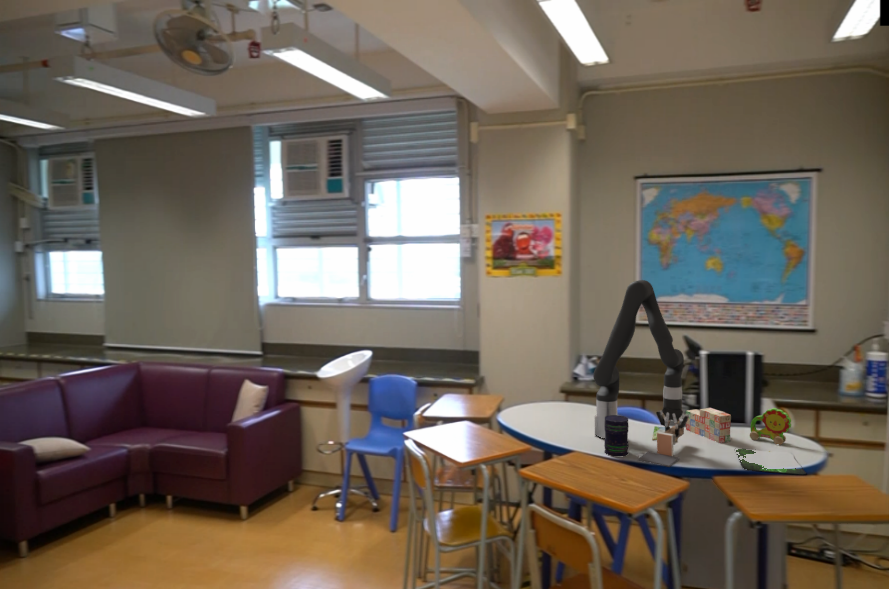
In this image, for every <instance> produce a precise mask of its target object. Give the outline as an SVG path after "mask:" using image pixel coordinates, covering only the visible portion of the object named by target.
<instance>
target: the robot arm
mask: <svg viewBox="0 0 889 589" xmlns="http://www.w3.org/2000/svg"><path fill="white" fill-rule="evenodd" d="M625 290H626V291H625V294H624V298H623V301H622V305H621V308H620V310H619V313H618V315H617V317H616V319H615V322H614V324H613V327H612V329H611V332H610V335H609V337H608V340H607V342H606V345H605V348H604V350H603V354H602V355H601V358H600V359H599V361H598V363H597V365H596V367H595V368H594V372H593V381H594V382H595V384H596V385H597V386H599V389H598V391H597V392H596V398H595V399H596V415H594V436H595V435H597V436H599V437H602V438H605V429H604V428H605V427H604V423H605V417H606V416H609V415H618V396H619V392H620V372H619V369H618V367H617V366H616V365H617V364H618V362H619V360H620V359H621V357H622V356H623V355H624V353H625V352H626V351H627V349H628V348H629V346H630V344H631V342H632V339H633V337H634V334H635V331H636V324H637V323H636V321H637V315H638V312H639V309H640V307H641V306H642V307H643V308H644V312H645V313H646V318H647V323H648V327H649V328H648V329H649V331H650V333H651V336H652V337H653V339H654V342H655V343H656V345H657V350H658V354H659V357H660V359H661V360H660V361H661V362H662V364H663V365H664V366H665V367H666V371H665V373H664V375H663V389H662V390H663V391H662V393H663V394H662V398H663V400H662V401H663V403H662V409H661V410H657V411H656V416H657V419H658V421H659V423H660V425H661V426H662V427H665V431H667V430H669V429H670V425H671V421H673V423H674V425H675V428H676V429H675V435H676V438H677V437H678V436H679V435H680V428H681V429H682V428H683V427H684V428H685V427H686V422H687V420H688V418H689V415H686V413H684V411H683V388H682V387H683V386H682V384H683V383H682V374H683V370H684V364H685V358H684V357H685V356H684V354H683V352H682V351H681V350H680V349H678V348H677V349H676V348H675V347H674V345H673V341H674V338H673V336H672V334H671V332H670V330H669V327H668V326H667V324H666V321H665V319H664V316H663V314H662V311H661V310H660V306H659V304H658V300H657V297H656V293H655V290H654V287H653V285H652V284H651V282H649V280H646V279H641V280H635V281H632V282H630V284H629V285H628V286H627V288H626V289H625ZM663 415H664V416H663ZM664 417H665V418H664ZM680 419H682V421H681V420H680ZM680 424H681V425H680ZM597 436H596V437H597ZM599 437H598V438H599ZM602 438H601V439H602ZM677 439H678V438H677Z"/></svg>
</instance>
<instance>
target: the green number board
mask: <svg viewBox="0 0 889 589" xmlns="http://www.w3.org/2000/svg"><path fill="white" fill-rule="evenodd" d="M669 427H670V426H669ZM670 428H671V427H670ZM658 432H663V433H664V432H665V426H658V425H657V426H654V429H653V433H652V441H654V440H657V433H658Z"/></svg>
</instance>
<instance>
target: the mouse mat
mask: <svg viewBox="0 0 889 589" xmlns="http://www.w3.org/2000/svg"><path fill="white" fill-rule="evenodd" d="M746 449H747V448H742V449H738V450H736V452H739V454H740V455H738V454H736V456H737V455H738V457H737V459H738V458H739V457H740V456H743V458H744V457H745V458H746V456H744V455H746V454H754V453H756V452H754V451H752V450H746ZM736 452H735V453H736ZM739 460H740V459H738V461H739ZM741 461H742V462H741ZM739 463H741V464H740V465H741V468H742V469H743V468H744V469H743V470H745V469H747V470H746V471H749V470H752V471H751V472H760V471H762V472H764V473H773V474H784V475H796V476H798V475H799V476H804V475H806V474H807V472H806V471H805V470H804V468H803V467H802V469H796V468H795V469H784V468H783V469H767V468H764V466H763V467H762V465H758V464H755V463H749V462H747V461H745V460H744V459H742V460H740V461H739ZM762 468H764V469H762ZM766 469H767V470H766Z"/></svg>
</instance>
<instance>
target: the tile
mask: <svg viewBox="0 0 889 589" xmlns="http://www.w3.org/2000/svg"><path fill="white" fill-rule="evenodd" d="M656 449H657V450H656V451H657V452H656V453H659V454H664V455H668V456H673V457H674V445H673V434H668V433H663V432H658V433H657V441H656Z"/></svg>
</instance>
